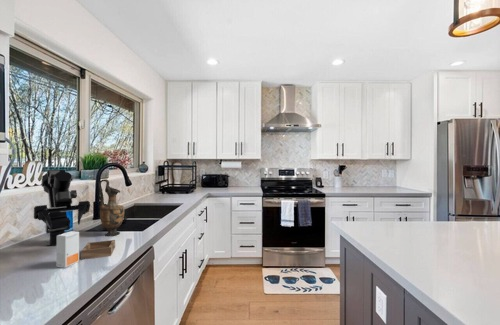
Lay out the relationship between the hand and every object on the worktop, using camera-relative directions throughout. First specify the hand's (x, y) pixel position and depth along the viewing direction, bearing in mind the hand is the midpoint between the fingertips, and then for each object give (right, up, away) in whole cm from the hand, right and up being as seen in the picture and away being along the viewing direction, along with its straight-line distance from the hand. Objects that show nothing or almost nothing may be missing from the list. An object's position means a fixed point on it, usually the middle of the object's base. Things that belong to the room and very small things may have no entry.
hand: (65, 226), depth 99 cm
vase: (0, -13, +32) cm, 35 cm away
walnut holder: (+10, -13, +6) cm, 18 cm away
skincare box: (+5, -14, -5) cm, 16 cm away
